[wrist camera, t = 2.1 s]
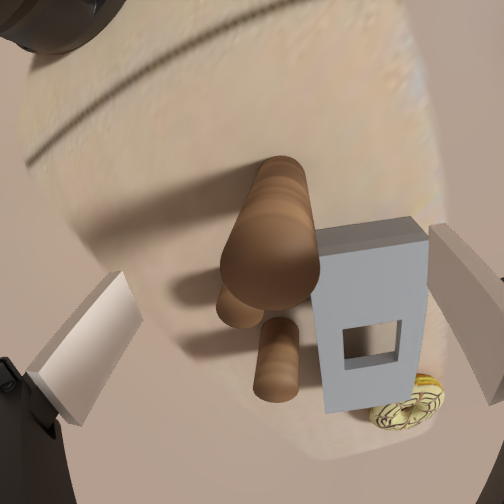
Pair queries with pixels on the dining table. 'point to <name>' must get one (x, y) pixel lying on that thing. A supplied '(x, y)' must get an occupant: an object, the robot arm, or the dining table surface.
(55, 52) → the robot arm
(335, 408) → the bridge
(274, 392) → the medium dowel
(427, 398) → the decorated donut
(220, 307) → the short dowel
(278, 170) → the long dowel
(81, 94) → the dining table surface
